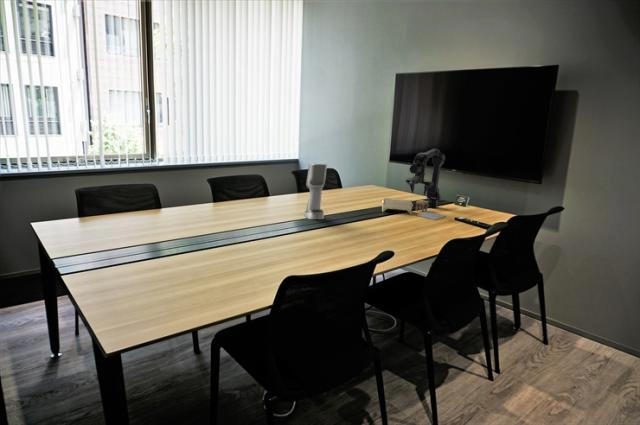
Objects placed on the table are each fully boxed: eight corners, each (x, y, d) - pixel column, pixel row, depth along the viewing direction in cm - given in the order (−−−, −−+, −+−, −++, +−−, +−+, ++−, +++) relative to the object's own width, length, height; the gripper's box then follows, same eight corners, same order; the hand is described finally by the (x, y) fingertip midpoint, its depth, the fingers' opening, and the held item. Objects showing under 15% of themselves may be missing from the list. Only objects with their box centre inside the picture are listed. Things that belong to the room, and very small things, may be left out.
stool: (419, 209, 305) (420, 199, 303) (427, 210, 301) (428, 201, 300) (415, 210, 301) (416, 200, 299) (422, 212, 297) (424, 202, 295)
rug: (427, 212, 298) (427, 211, 298) (445, 216, 289) (446, 215, 289) (416, 215, 286) (416, 215, 286) (434, 220, 277) (435, 219, 277)
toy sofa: (410, 211, 298) (412, 197, 296) (412, 214, 290) (413, 200, 287) (381, 209, 300) (382, 195, 298) (381, 212, 292) (382, 197, 289)
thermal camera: (308, 220, 262) (310, 164, 253) (302, 214, 274) (305, 161, 265) (325, 219, 266) (329, 164, 257) (320, 214, 277) (322, 161, 269)
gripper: (402, 171, 289) (400, 193, 293) (427, 175, 277) (424, 198, 281) (410, 169, 297) (408, 191, 301) (435, 173, 285) (432, 195, 289)
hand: (418, 194), depth 293 cm, fingers open, 9 cm apart
